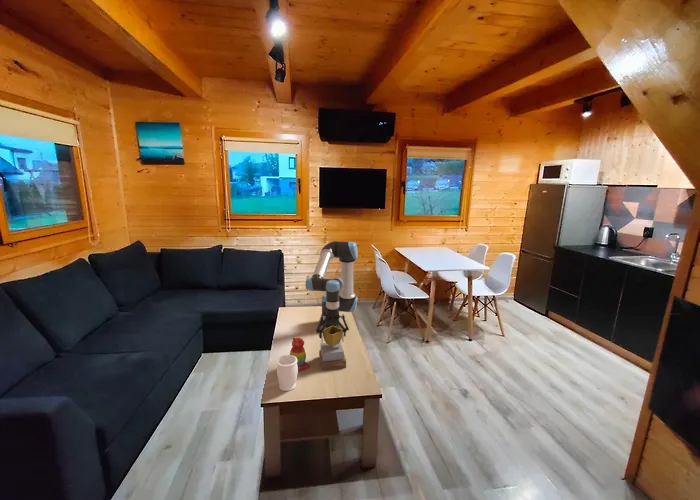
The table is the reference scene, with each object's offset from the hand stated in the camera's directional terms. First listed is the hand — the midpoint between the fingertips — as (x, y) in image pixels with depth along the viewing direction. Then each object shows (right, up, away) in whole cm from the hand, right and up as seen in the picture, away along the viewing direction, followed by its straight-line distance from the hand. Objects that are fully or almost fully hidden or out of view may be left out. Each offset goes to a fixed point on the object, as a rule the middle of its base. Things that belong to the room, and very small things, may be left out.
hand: (332, 342), depth 183 cm
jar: (-22, -17, -21) cm, 35 cm away
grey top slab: (0, -8, +1) cm, 8 cm away
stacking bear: (-20, -13, -3) cm, 24 cm away
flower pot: (0, -1, 0) cm, 2 cm away
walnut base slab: (0, -13, +2) cm, 13 cm away
